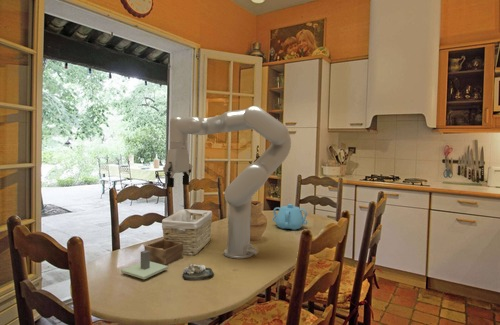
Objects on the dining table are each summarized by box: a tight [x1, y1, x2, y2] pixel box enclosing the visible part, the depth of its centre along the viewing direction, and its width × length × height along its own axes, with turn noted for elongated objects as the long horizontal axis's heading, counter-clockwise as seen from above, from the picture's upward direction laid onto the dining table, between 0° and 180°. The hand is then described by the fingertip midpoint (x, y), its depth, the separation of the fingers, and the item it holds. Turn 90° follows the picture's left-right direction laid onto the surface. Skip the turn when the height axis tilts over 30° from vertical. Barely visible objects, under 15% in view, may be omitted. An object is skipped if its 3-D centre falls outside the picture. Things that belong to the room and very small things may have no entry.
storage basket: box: [161, 208, 213, 256], centre depth 145 cm, size 24×16×15 cm
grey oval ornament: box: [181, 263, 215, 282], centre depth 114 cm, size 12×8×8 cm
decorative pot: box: [272, 203, 308, 231], centre depth 182 cm, size 16×16×14 cm
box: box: [143, 238, 184, 266], centre depth 129 cm, size 11×11×6 cm
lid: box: [120, 250, 169, 280], centre depth 115 cm, size 11×11×8 cm
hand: (178, 185), depth 139 cm, fingers open, 9 cm apart
